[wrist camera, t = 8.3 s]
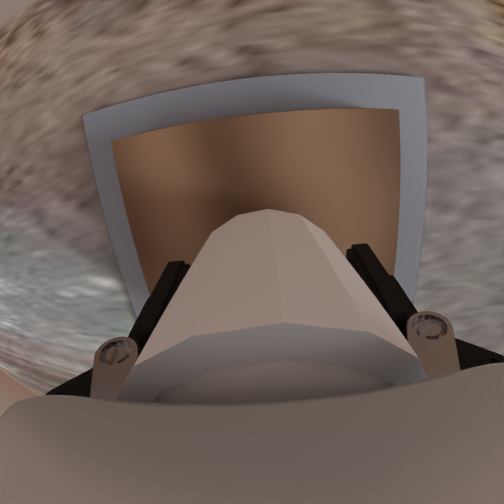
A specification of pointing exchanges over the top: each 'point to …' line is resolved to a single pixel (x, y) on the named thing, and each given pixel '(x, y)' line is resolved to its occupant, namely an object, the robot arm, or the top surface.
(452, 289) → the top surface
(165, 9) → the top surface
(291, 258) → the white tapered cup
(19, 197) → the top surface
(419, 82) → the slate gray board
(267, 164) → the walnut plinth
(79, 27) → the top surface
